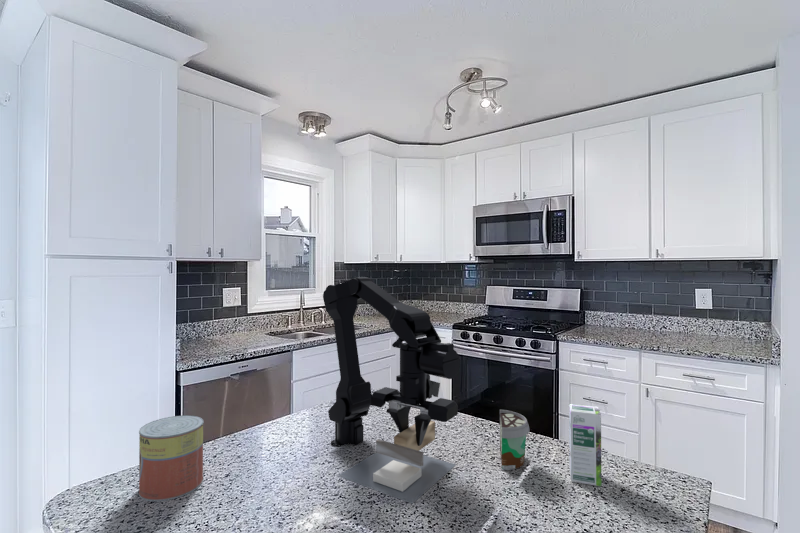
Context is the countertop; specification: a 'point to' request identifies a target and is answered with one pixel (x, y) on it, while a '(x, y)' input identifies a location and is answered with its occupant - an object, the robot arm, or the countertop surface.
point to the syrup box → (585, 444)
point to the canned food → (170, 457)
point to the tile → (397, 475)
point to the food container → (512, 439)
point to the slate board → (364, 476)
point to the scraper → (407, 445)
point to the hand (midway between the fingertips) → (412, 443)
